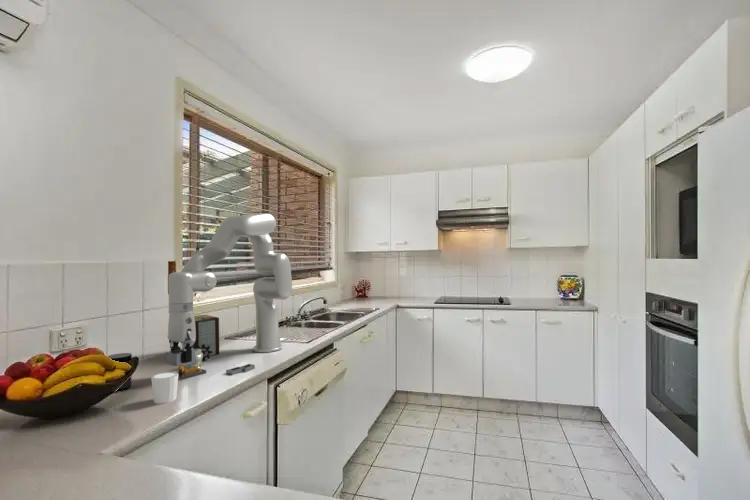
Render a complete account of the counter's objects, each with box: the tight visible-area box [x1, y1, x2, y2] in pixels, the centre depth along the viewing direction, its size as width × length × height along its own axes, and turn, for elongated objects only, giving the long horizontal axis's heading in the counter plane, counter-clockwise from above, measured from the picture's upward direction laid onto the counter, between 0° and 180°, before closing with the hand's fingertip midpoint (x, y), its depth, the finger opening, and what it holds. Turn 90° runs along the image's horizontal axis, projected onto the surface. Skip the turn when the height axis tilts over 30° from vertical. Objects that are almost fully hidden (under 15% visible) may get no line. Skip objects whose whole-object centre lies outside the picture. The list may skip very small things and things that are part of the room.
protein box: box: [185, 314, 220, 357], centre depth 167 cm, size 10×15×16 cm
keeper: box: [176, 365, 207, 382], centre depth 134 cm, size 11×7×6 cm, turn 145°
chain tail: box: [225, 363, 256, 376], centre depth 139 cm, size 10×4×1 cm, turn 145°
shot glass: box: [150, 371, 179, 405], centre depth 111 cm, size 7×7×7 cm
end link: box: [166, 348, 195, 367], centre depth 133 cm, size 6×6×4 cm
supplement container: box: [107, 352, 133, 393], centre depth 121 cm, size 7×7×10 cm
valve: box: [190, 344, 212, 368], centre depth 149 cm, size 7×7×12 cm
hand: (181, 360), depth 133 cm, fingers closed on end link, 6 cm apart
